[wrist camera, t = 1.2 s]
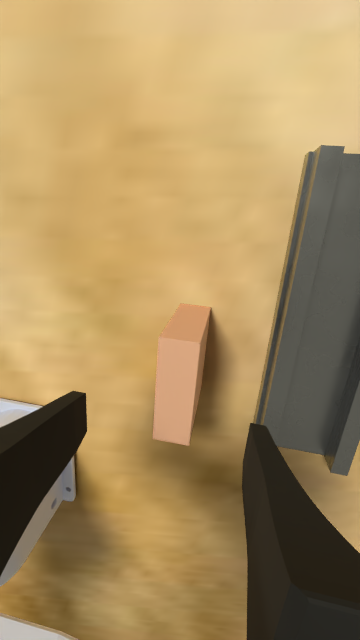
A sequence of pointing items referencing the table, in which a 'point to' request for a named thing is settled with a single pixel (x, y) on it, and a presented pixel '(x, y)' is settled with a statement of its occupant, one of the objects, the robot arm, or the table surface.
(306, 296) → the rail
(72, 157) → the table surface
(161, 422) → the light orange rectangular block
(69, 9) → the table surface
